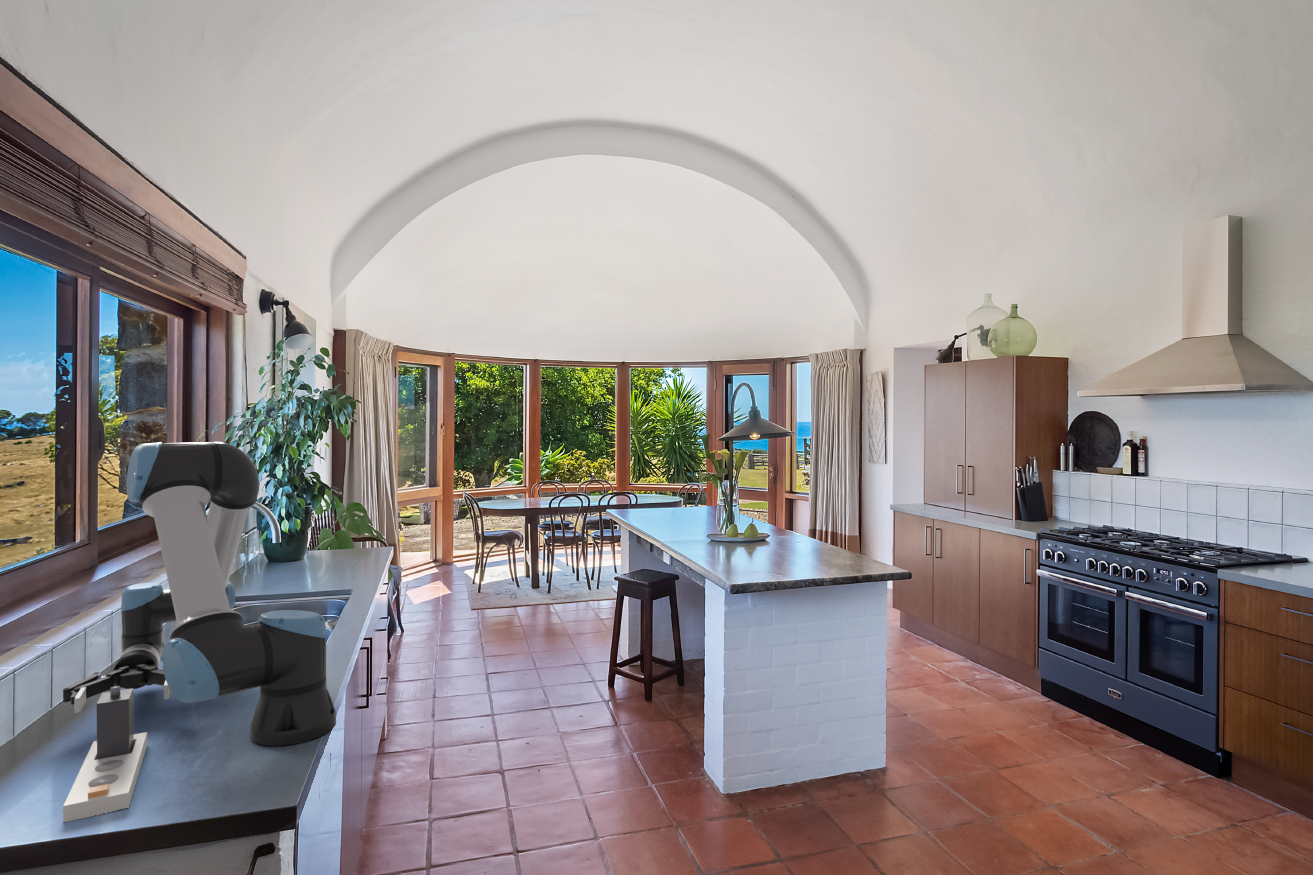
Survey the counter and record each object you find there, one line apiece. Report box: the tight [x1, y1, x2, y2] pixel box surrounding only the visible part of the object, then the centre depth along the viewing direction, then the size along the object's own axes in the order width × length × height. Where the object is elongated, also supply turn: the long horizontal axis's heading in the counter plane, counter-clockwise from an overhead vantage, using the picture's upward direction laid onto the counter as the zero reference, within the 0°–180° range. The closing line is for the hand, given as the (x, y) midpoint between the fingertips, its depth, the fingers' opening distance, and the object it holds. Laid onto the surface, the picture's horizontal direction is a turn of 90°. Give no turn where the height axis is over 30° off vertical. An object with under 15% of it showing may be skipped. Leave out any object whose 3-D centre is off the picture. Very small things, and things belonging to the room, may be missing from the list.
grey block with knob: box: [96, 686, 135, 760], centre depth 128 cm, size 6×4×12 cm
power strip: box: [62, 731, 148, 823], centre depth 122 cm, size 26×8×3 cm, turn 30°
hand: (122, 698), depth 136 cm, fingers open, 13 cm apart
